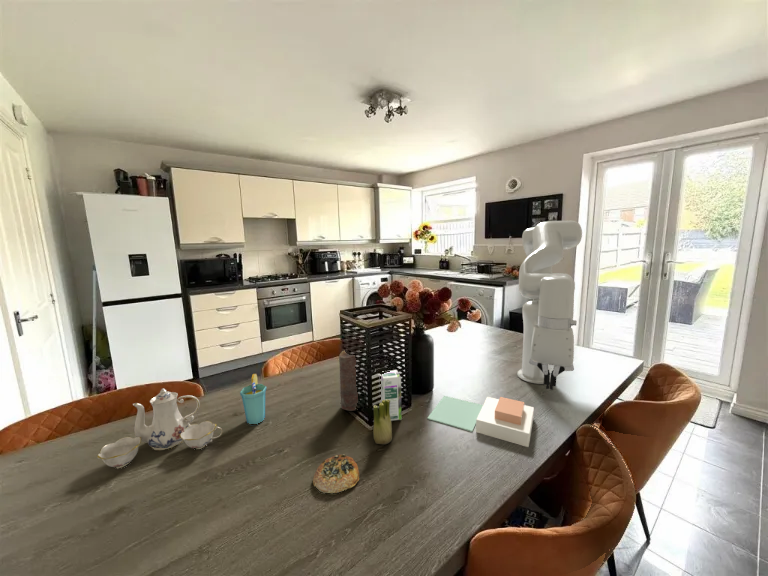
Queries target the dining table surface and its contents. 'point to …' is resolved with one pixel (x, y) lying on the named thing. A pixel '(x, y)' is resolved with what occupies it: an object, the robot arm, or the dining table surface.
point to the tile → (509, 410)
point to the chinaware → (160, 430)
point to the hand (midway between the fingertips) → (549, 387)
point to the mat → (456, 413)
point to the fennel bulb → (382, 423)
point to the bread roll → (336, 474)
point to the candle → (348, 381)
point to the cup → (254, 401)
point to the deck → (504, 424)
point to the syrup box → (392, 393)
